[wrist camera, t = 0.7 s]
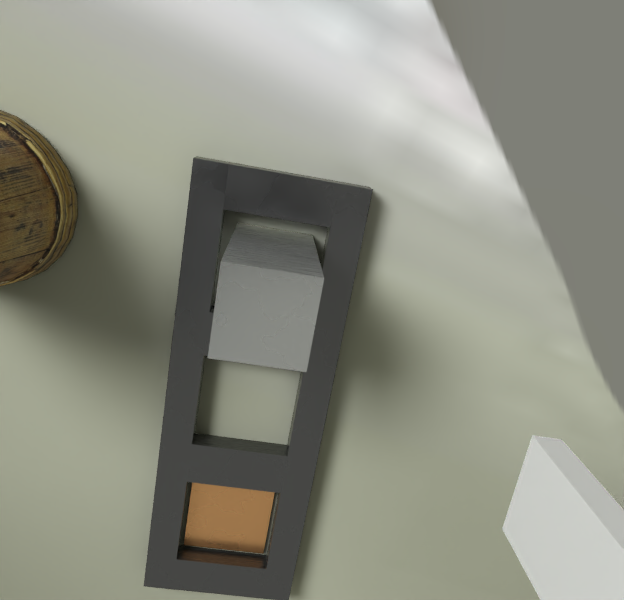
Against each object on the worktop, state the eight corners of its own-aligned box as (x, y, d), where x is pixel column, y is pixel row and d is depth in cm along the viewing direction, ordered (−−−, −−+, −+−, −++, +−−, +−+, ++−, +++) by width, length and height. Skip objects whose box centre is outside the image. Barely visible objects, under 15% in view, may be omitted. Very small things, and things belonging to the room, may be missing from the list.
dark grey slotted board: (148, 571, 37) (143, 586, 35) (196, 156, 29) (193, 157, 28) (288, 586, 37) (288, 600, 36) (369, 187, 30) (372, 189, 29)
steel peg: (227, 294, 32) (207, 358, 23) (237, 222, 30) (220, 261, 22) (299, 305, 32) (306, 372, 23) (312, 234, 31) (324, 277, 22)
